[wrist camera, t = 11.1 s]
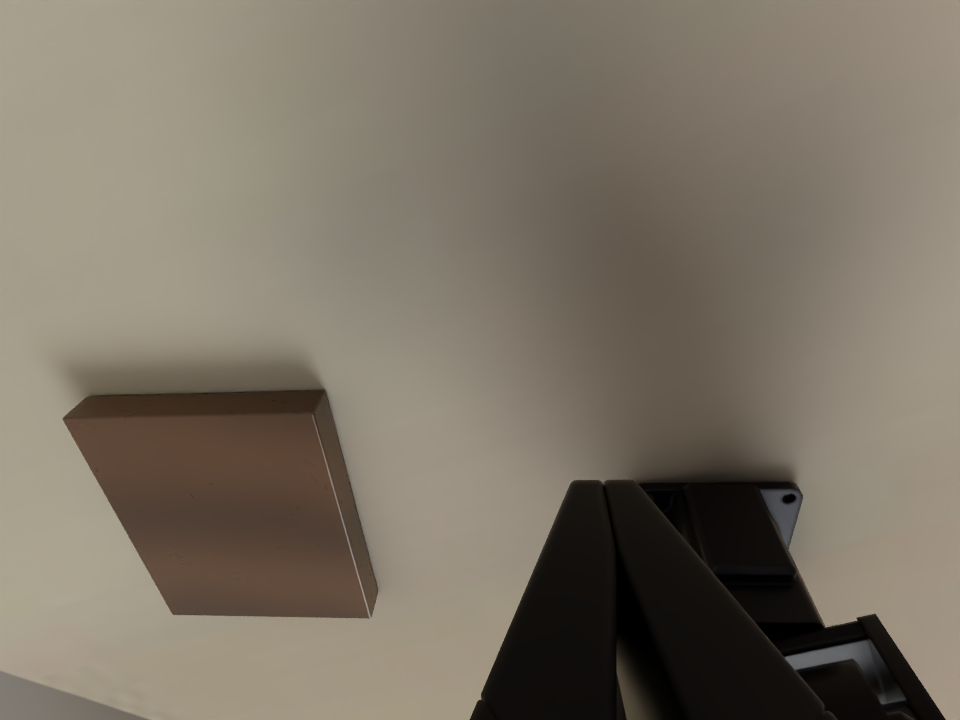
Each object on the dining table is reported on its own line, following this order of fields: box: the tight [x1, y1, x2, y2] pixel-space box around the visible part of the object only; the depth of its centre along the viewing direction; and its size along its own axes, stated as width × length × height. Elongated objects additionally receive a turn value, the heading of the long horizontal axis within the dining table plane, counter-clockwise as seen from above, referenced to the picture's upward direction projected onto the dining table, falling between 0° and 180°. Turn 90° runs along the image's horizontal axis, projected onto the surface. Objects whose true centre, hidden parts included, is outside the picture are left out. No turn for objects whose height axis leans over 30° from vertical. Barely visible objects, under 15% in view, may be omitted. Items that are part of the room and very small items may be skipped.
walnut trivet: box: [63, 391, 378, 618], centre depth 25 cm, size 12×10×2 cm
